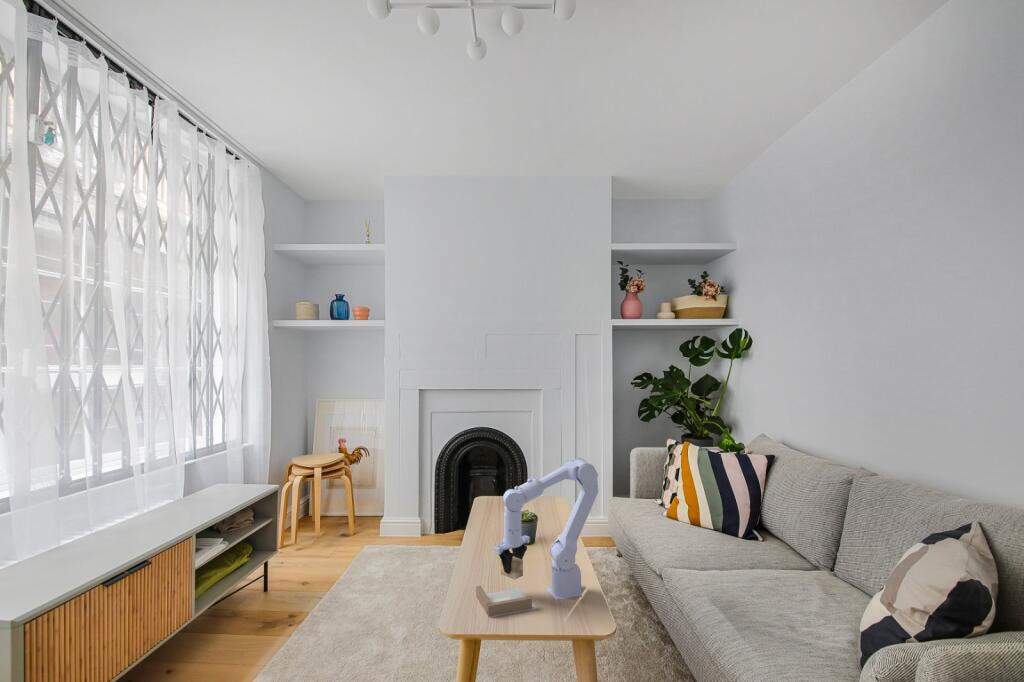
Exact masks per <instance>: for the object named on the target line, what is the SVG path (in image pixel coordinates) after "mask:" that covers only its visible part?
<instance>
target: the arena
mask: <svg viewBox="0 0 1024 682" xmlns="http://www.w3.org/2000/svg"><path fill="white" fill-rule="evenodd" d="M475 598H476V599H477V600H478V602H479V604H480V605H481V607H482V610H484V612H485V614H486V615H487V617H488V618H489V619H490V618H494V617H499V616H500V617H501V616H506V615H509V614H510V615H511V614H516V613H521V612H527V611H531V610H532V611H533V610H537V609H538V608H537V607H536V605H535V604H534V603H533V598H532V597H531V596H530V595H529V596H528V595H527V594H526V593H525V592H524V590H523V589H522V587H519V588H512V589H507V590H500V591H496V592H488V593H486V591H485V590H484V589H483V587H482V586H481V585H476V586H475Z"/></svg>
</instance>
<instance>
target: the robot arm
mask: <svg viewBox="0 0 1024 682" xmlns="http://www.w3.org/2000/svg"><path fill="white" fill-rule="evenodd" d="M598 477H599V474H598V471H597V470H596V468H595V466H594V465H593V464H592V463H589V462H587V461H586V460H585V459H584V458H582V457H581V458H580V457H577V458H574V459H573V460H570V461H567V462H566V463H565V464H563V465H562V466H560V467H558V468H556V469H555V470H553V471H552V472H550V473H548V474H547V475H545V476H543V477H542V478H540V479H538V478H531V477H530V478H528V479H526V482H524V483H523V484H521V485H519V486H518V485H516V486H514V488H509V489H507V490H505V492H504V493H503V497H502V502H503V504H504V509H503V511H504V512H503V538H501V542H500V543H499V544H497V545H495V546H494V554H496V555H498V556H499V558H500V562H501V561H502V564H503V568H504V572H505V573H508V574H510V572H511V563H512V558H513V556H514V557H516V558H519V559H522V560H523V559H524V556H525V554H526V552H527V550H528V546H527V545H525V544H529V543H530V536H528V535H526V534H525V535H522V515H523V514H522V509H523V508H524V504H526V503H529V502H531V501H533V500H534V499H536V498H538V497H540V496H542V495H543V494H544V491H545V489H548V488H550V487H551V486H554V485H556V484H558V483H560V482H563V481H565V480H571V481H577V482H578V485H579V488H580V492H579V495H578V497H577V499H576V501H575V502H574V503H575V504H574V506H573V508H572V511H571V512H570V515H569V517H568V520H567V522H566V524H565V526H564V528H563V531H562V533H560V534H559V535H558V536H557V538H556V540H555V541H554V542H552V543H551V545H550V548H549V553H550V554H549V555H550V556H551V558H552V562H551V563H550V564H551V565H550V567H551V568H550V569H551V570H550V577H551V578H550V587H547V588H546V590H547V592H548V593H550V594H551V596H552V597H553V598H554V599H555V600H562V599H567V598H573V597H578V596H580V597H582V596H583V594H582V573H581V569H580V566H579V564H577V563H575V562H576V555H577V551H578V547H577V546H578V540H579V538H580V535H581V533H582V531H583V528H584V527H585V524H586V522H587V519H588V517H589V514H590V512H591V510H592V508H593V505H594V503H595V500H596V499H597V496H598V493H599V485H598ZM511 551H512V552H511Z"/></svg>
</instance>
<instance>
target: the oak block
mask: <svg viewBox="0 0 1024 682" xmlns="http://www.w3.org/2000/svg"><path fill="white" fill-rule="evenodd" d="M500 574H501V575H503V576H505V577H507V578H509V579H512V580H514V581H515V580H517V579H519V578H521V577H524V560H523V559H519V558H516V557H514V556H513V558H512V563H511V572H510V574H508V573H505V572H504V568H503V564H502V561H501V560H500Z"/></svg>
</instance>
